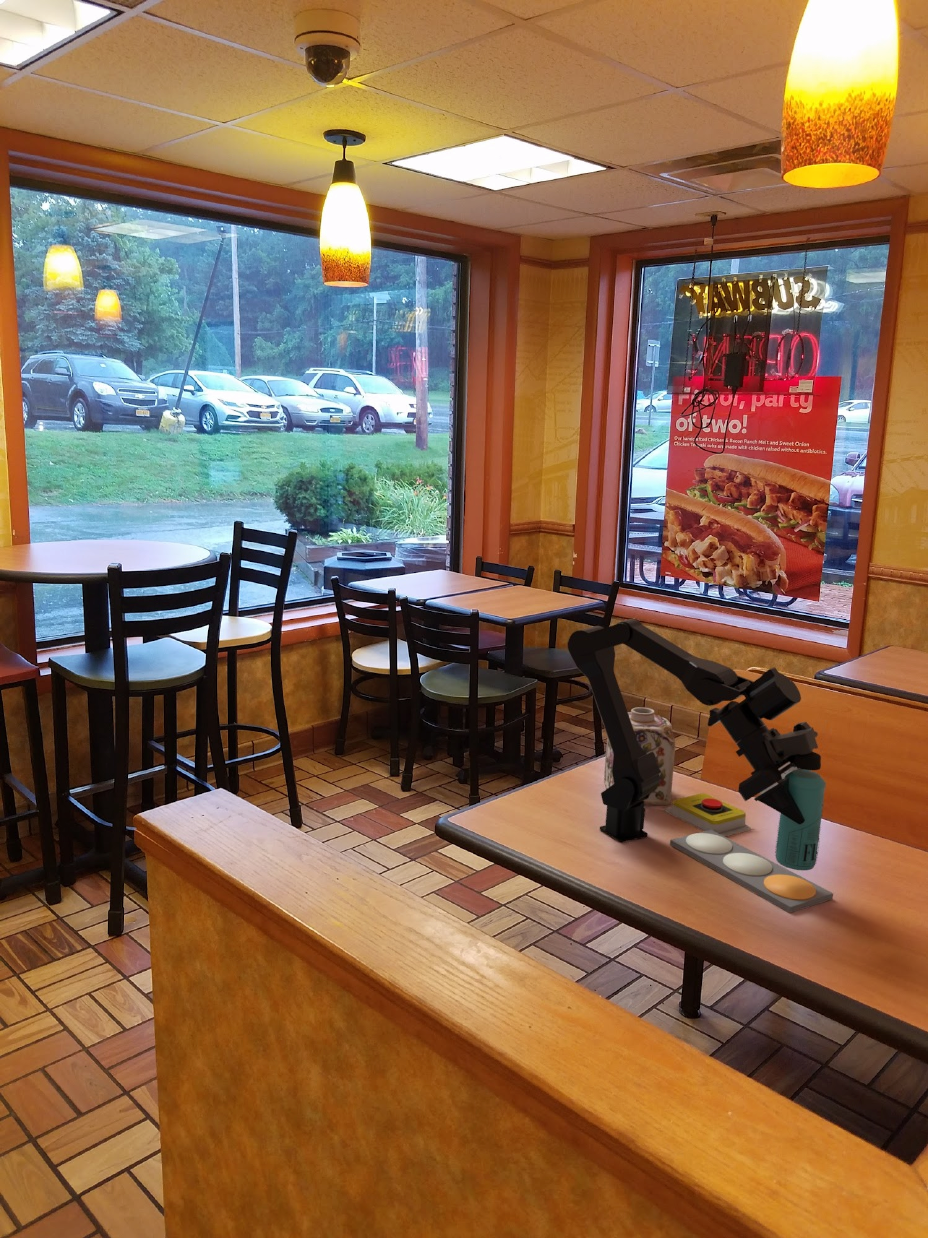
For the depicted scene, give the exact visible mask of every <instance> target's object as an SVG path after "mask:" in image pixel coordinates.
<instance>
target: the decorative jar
mask: <svg viewBox="0 0 928 1238" xmlns="http://www.w3.org/2000/svg"><path fill="white" fill-rule="evenodd" d="M627 712H628V715H629V718H630V721H631V723H632V726H633V729H634V732H635V735H636V738H637V741H638V744H639V746H640V747H641V748H642V749H643V750H644V751H645V752H646V753H647V754H648V753H650V752H654V754H655V757H656V762H657V765H658V767H659V769H660V770H661V773H660V774H659V775H660V783H659V785H658V788H657V789H656V790H655V791H654V792H652V793H651V794H650V796H649V798H648V799H645V800H643V801H644V805H648V806H649V805H650V806H651V805H653V806H654V805H655V806H669V805H670V804H671V798H672V789H673V780H674V779H673V778H674V768H675V767H674V766H675V765H674V764H675V755H676V754H675V752H676V738H675V733H674V732H673V726H672V723H671V722H670V721H669V720H668V719H667V718H665V717H662V716H661V715H658V714H655V710H654V709H652V708H650V707H639V706H638V707H634V708H632V709H631V710H630V712H629V711H627ZM606 736H607V735H606ZM605 750H606V751H605V758H604V760H605V761H604V762H605V763H604V774H603V776H604V777H603V783H604V786H605V787H606V789H607V788H609V787H610V786H612V785H613V784H614V781H613V776H612V764H613V751H612V748H611V745H610V742H609V739H608V736H607V740H606V749H605Z"/></svg>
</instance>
